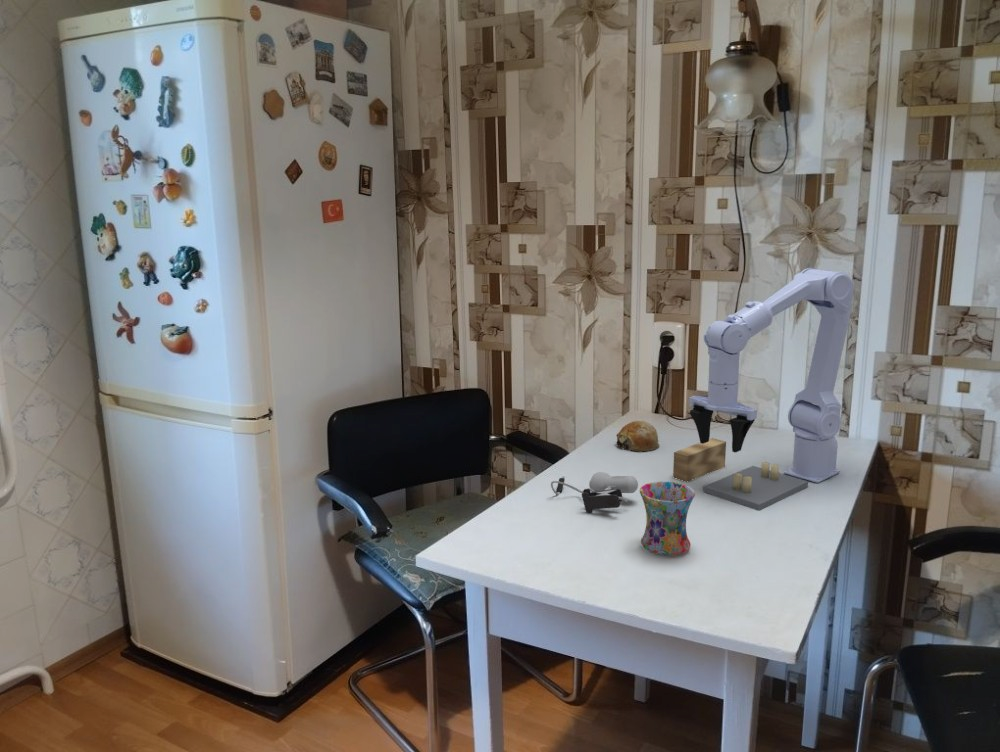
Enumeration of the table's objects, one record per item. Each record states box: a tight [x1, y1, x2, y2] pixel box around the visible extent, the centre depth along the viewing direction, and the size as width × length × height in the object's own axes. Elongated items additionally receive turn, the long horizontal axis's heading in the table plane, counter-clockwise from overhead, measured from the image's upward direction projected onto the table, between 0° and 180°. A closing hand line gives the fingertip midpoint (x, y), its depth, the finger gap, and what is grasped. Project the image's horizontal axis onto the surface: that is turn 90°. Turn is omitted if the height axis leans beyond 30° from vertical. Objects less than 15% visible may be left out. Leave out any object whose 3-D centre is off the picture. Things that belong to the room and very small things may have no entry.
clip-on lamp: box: [550, 471, 639, 514], centre depth 160 cm, size 12×6×18 cm
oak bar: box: [672, 437, 727, 483], centre depth 174 cm, size 14×4×6 cm, turn 131°
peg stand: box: [702, 461, 809, 511], centre depth 164 cm, size 18×13×4 cm
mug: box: [639, 480, 696, 556], centre depth 139 cm, size 12×9×11 cm
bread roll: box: [616, 420, 660, 452], centre depth 193 cm, size 10×10×8 cm
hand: (720, 446), depth 161 cm, fingers open, 7 cm apart
